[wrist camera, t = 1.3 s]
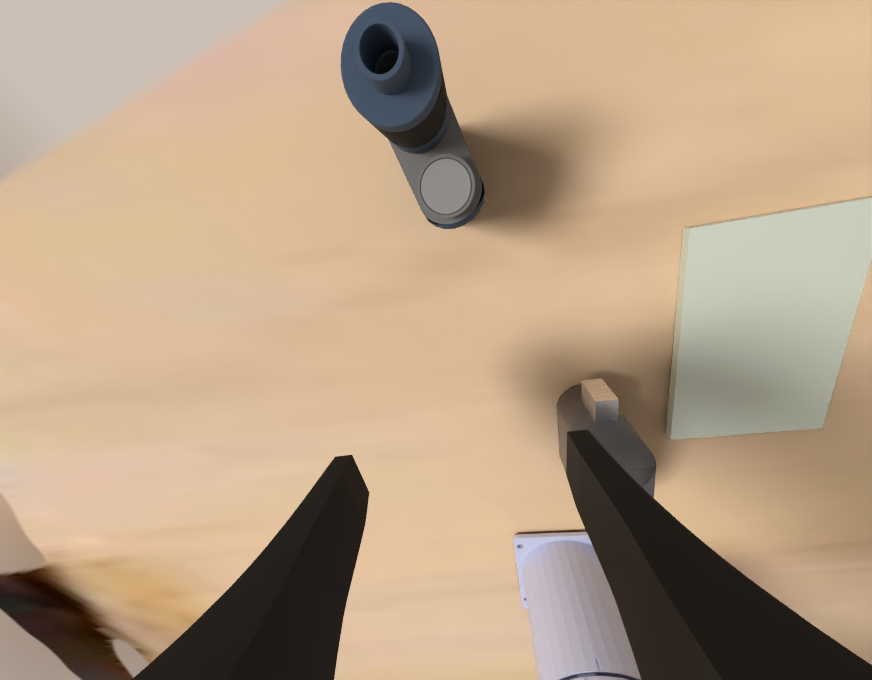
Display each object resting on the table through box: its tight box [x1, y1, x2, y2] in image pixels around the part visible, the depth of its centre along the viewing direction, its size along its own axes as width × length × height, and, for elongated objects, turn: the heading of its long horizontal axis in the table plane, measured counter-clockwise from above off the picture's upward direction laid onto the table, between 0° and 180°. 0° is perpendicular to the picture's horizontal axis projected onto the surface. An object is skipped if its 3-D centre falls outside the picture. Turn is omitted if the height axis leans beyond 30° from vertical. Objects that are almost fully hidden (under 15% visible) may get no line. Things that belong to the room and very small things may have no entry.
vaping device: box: [341, 2, 485, 229], centre depth 13 cm, size 3×5×12 cm, turn 26°
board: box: [666, 196, 872, 440], centre depth 19 cm, size 14×9×1 cm, turn 10°
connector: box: [557, 378, 656, 498], centre depth 20 cm, size 9×4×6 cm, turn 10°
